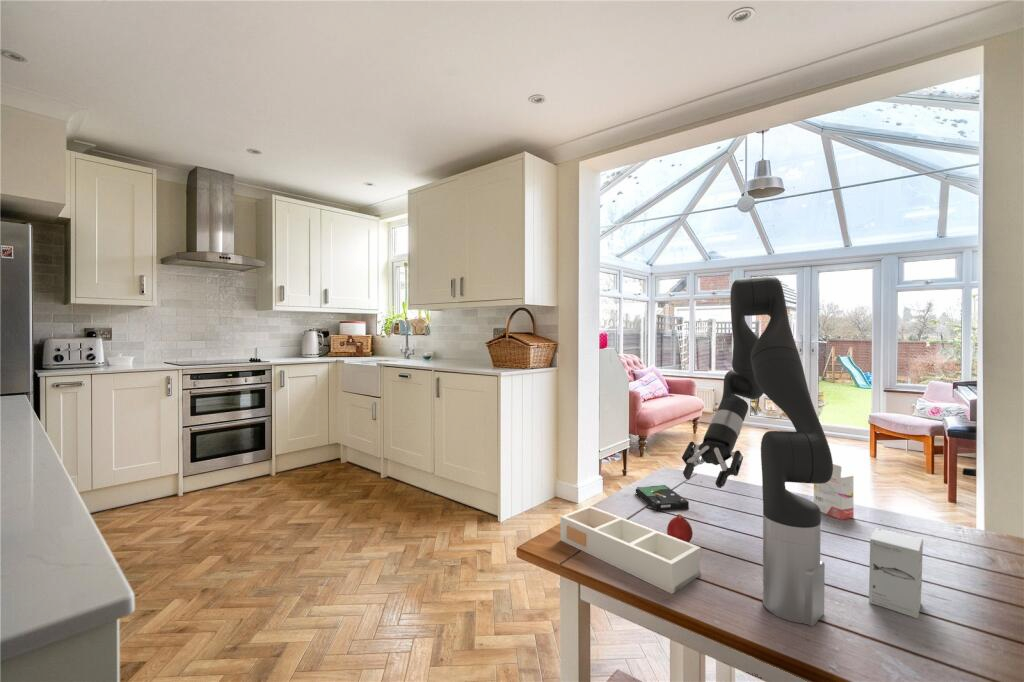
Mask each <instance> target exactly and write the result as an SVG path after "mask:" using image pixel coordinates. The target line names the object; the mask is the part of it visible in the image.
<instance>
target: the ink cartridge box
mask: <svg viewBox="0 0 1024 682" xmlns="http://www.w3.org/2000/svg"><path fill="white" fill-rule="evenodd" d="M842 469H843V468H842V466H841V465H838V464H834V463H833V473H832V477H831V479H830V480H829V481H828V482H827V483H822V484H813V503H815V504H816V505H817V506H818V507H819V508H820V512H821V513H822V514H826V515H828V516H830V517H833V518H835V519H839V520H848V519H853V518H854V517H855V516H854V504H855V503H854V475H851V474H848V473H844V472H842Z"/></svg>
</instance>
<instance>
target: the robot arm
mask: <svg viewBox="0 0 1024 682" xmlns="http://www.w3.org/2000/svg"><path fill="white" fill-rule="evenodd" d="M729 296H730V299H729V300H730V318H731V319H730V320H731V332H732V341H733V345H732V346H733V347H732V359H731V368H732V369H731V370H729V371H727V372H726V374H725V375H724V378H723V386H722V387H723V392H722V397H721V400H720V403H719V405H718V407H717V410H716V412H715V414H714V415H713V416H712V419H711V421H710V423H709V426H708V427H707V430H706V432H705V434H704V437H703V440H702V442H701V444H696V443H695V442H694V441H690V442H689V443H688V445H687V446H686V449H685V451H684V453H683V454H682V456H681V459H682V461H683V463H684V464H685V467H684V470H682V471H683V472H682V475H683V477H684V478H685V479H686V480H689V481H690V479H691V476H692V475H693V472H694V470H695V467H698V466H699V465H703V464H705V463H706V464H712V465H714V466H718V465H720V469H721V470H720V471H719V472H718V475H717V478H716V480H715V483H714V484H715V486H716V487H717V488H719V489H722V487H724V486H726V485H725V484H726V483H727V480H728V478H729V477H730V476H733V477H737V476H738V475H739V473H740V469H741V466H742V463H743V460H744V456H743V454H742V452H741V450H738V449H737V450H735V451H734V449H735V446H736V442H737V441H738V439H739V436H740V435H741V431H742V428H743V427H742V426H743V424H744V421H745V419H746V416H747V413H748V411H749V404H748V402H747V401H746V400H744V398H745V399H748V400H757V399H759V398H761V397H762V396H763V395H765V396H766V397H767V398H769V399H770V401H771V402H773V404H774V405H776V406H777V407H778V408H780V410H781V411H782V412H783V413H784V414H785V415H786V416H787V418H788V419H789V420H790V422H791V423H792V425H793V427H794V430H795V431H791V430H790V431H787V430H786V431H785V430H769V431H766V432H764V434H763V435H762V437H761V442H760V463H761V464H760V465H761V478H762V479H761V481H762V485H761V486H762V487H761V488H762V489H761V490H762V513H763V514H762V604H763V606H764V607H765V608H766V610H767V611H769V612H770V613H771V614H773V615H775V616H777V617H778V618H780V619H783V620H786V621H789V622H793V623H799V624H805V625H808V626H810V627H814V626H815V625H816V623H817V622H818V621H819V620H820V619H821V618H822V617H823V616H824V614H825V587H826V586H825V574H826V573H825V570H826V568H825V565H826V564H825V562H824V561H821V544H822V543H821V536H822V535H821V534H822V533H821V532H822V531H821V528H822V527H821V526H822V523H821V522H822V521H821V520H822V517H821V516H822V514H821V513H822V512H820V508H819V507H818V506H817V505H816V504H815V503H814V501H812V500H810V499H807V498H805V497H803V496H800V495H798V494H795V493H794V492H791V491H789V490H787V489H786V483H795V484H796V483H798V484H813V485H814V484H822V483H827V482H828V481H829V480H830V479H831V477H832V473H833V464H834V463H833V461H834V460H833V455H832V452H831V448H830V445H829V442H828V439H827V437H826V434H825V432H824V430H823V426H822V424H821V421H820V419H819V417H818V414H817V412H816V409H815V407H814V404H813V401H812V398H811V395H810V392H809V387H808V383H807V380H806V376H805V370H804V367H803V363H802V360H801V357H800V353H799V350H798V347H797V345H796V341H795V338H794V336H793V335H794V334H793V332H792V328H791V325H790V319H789V314H788V309H787V303H786V298H785V293H784V289H783V286H782V283H781V281H780V280H779V278H777V277H776V276H769V275H768V276H766V275H765V276H758V277H757V276H755V277H744V278H738V279H735V280H734V281H733V283H732V285H731V288H730V295H729ZM746 316H747V317H749V316H751V317H753V316H755V317H756V316H769V321H768V322H767V323H768V324H767V325H766V327H765V329H763V332H762V333H761V335H759V337H758V336H757V335H756V334H755V332H753V330H752V329H751V328H750V326H749V325H748V323H747V321H746ZM700 457H701V458H700ZM731 458H732V461H731V464H730V467H728V464H727V462H726V461H727V460H729V459H731Z"/></svg>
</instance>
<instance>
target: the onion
mask: <svg viewBox="0 0 1024 682" xmlns="http://www.w3.org/2000/svg"><path fill="white" fill-rule="evenodd" d="M666 533H667V535H669V536H672V537H675V538H677V539H680V540H683V541H685V542H688V543H691V540H692V538H693V528H692V526H691V524H690V522H688V520H687V519H685V517H683V515H682V514H681V513H677V514H676V516H675V517H673V518H672V519H670V521H669V522H668V524H667V527H666Z"/></svg>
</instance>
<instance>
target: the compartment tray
mask: <svg viewBox="0 0 1024 682" xmlns="http://www.w3.org/2000/svg"><path fill="white" fill-rule="evenodd" d="M559 521H560V524H559V525H560V541H561V542H563V543H565V544H567V545H570V546H572V547H573V548H575V549H578V550H580V551H582V552H584V553H586V554H589V555H590V556H593V557H595V558H597V559H599V560H601V561H603V562H605V563H606V564H609V565H611V566H613V567H615V568H617V569H619V570H621V571H623V572H625V573H627V574H630V575H632V576H634V577H636V578H638V579H641V580H642V581H644V582H646V583H649V584H651V585H653V586H655V587H656V588H658V589H661V590H663V591H665V592H667V593H668V594H671V595H673V594H674V593H676V592H677V591H679V590H681V589H682V588H683V587H684V586H686V585H688V584H690V583H691V582H692V581H694V580H695V579H697V578H698V577H700V576H701V574H702V571H701V567H702V566H701V563H702V558H701V553H702V552H701V551H702V550H701V549H702V547H701V546H698V545H696V544H694V543H693V544H692V543H691V542H689V543H688V542H685V541H683V540H680V539H677V538H675V537H672V536H669V535H668V534H666V533H663V532H661V531H658V530H656V529H653V528H650V527H647V526H645V525H642V524H640V523H637V522H634V521H632V520H630V519H626V518H624V517H621V516H619V515H615V514H613V513H611V512H608V511H606V510H603V509H600V508H598V507H595V506H592V505H588V506H585V507H582V508H579V509H577V510H575V511H571V512H570V513H566V514H563V515H561V516H560V520H559Z"/></svg>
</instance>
